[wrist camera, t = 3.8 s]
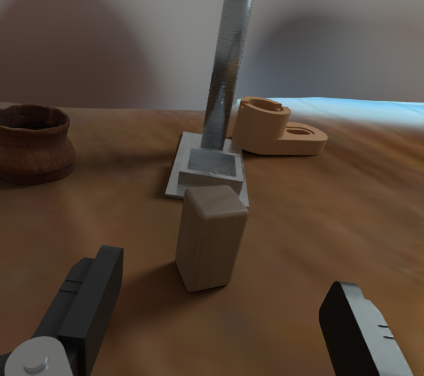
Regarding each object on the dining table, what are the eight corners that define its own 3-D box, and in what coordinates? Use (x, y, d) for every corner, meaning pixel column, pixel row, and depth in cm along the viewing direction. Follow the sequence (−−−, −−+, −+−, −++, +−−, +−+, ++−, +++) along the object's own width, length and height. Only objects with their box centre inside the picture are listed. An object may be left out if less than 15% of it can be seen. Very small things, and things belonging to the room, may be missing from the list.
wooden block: (173, 260, 29) (183, 185, 24) (213, 253, 30) (229, 182, 26) (186, 295, 25) (201, 216, 21) (230, 285, 27) (252, 211, 23)
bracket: (244, 154, 50) (256, 112, 46) (224, 133, 56) (233, 94, 53) (331, 155, 57) (346, 118, 54) (304, 136, 63) (316, 102, 60)
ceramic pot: (-18, 132, 43) (-29, 80, 39) (118, 144, 47) (119, 98, 44) (-101, 215, 28) (-131, 145, 25) (107, 221, 33) (108, 162, 29)
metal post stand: (240, 143, 55) (286, -57, 40) (248, 209, 38) (334, -98, 23) (183, 133, 54) (209, -73, 40) (164, 196, 37) (199, -127, 23)
